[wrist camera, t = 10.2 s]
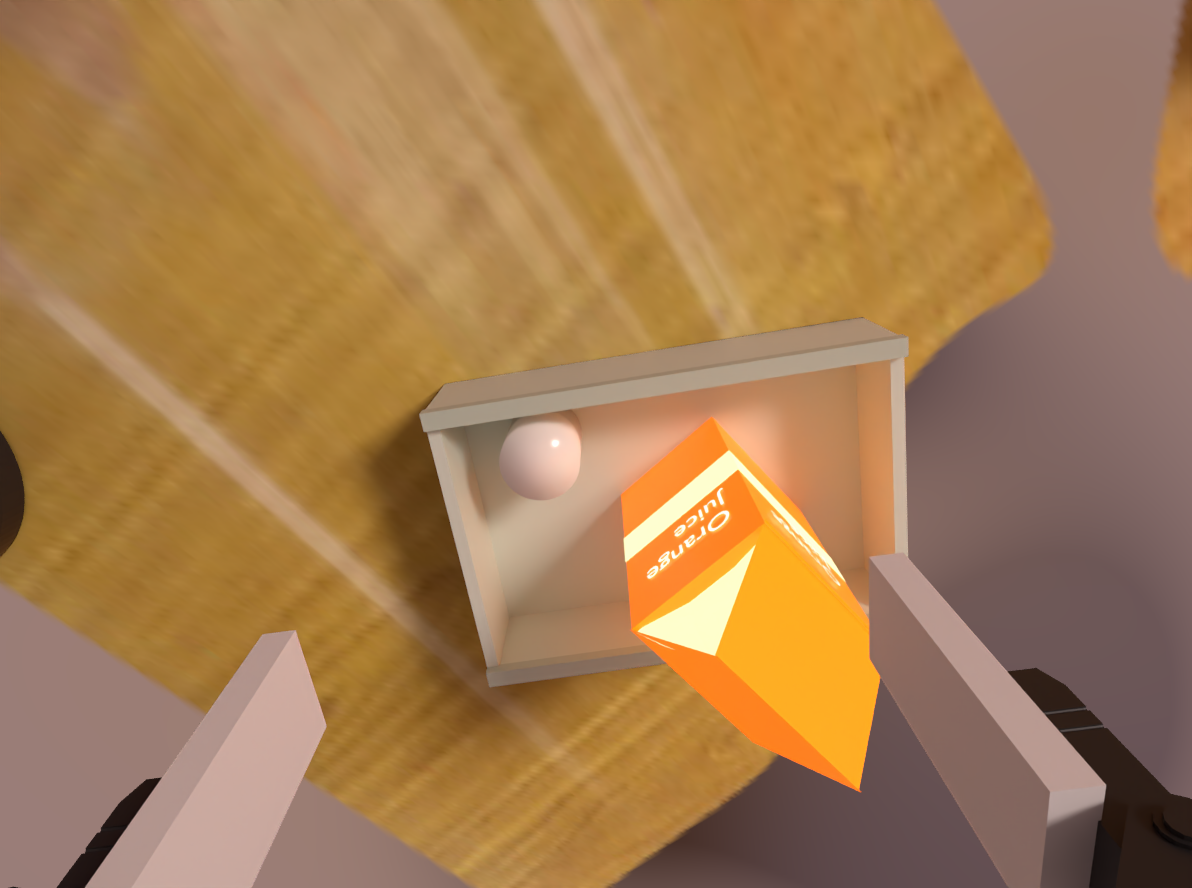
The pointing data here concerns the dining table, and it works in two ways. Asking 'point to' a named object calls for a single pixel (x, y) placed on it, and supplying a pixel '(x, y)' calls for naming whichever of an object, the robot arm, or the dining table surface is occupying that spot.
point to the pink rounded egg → (542, 454)
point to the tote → (634, 446)
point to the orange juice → (749, 605)
